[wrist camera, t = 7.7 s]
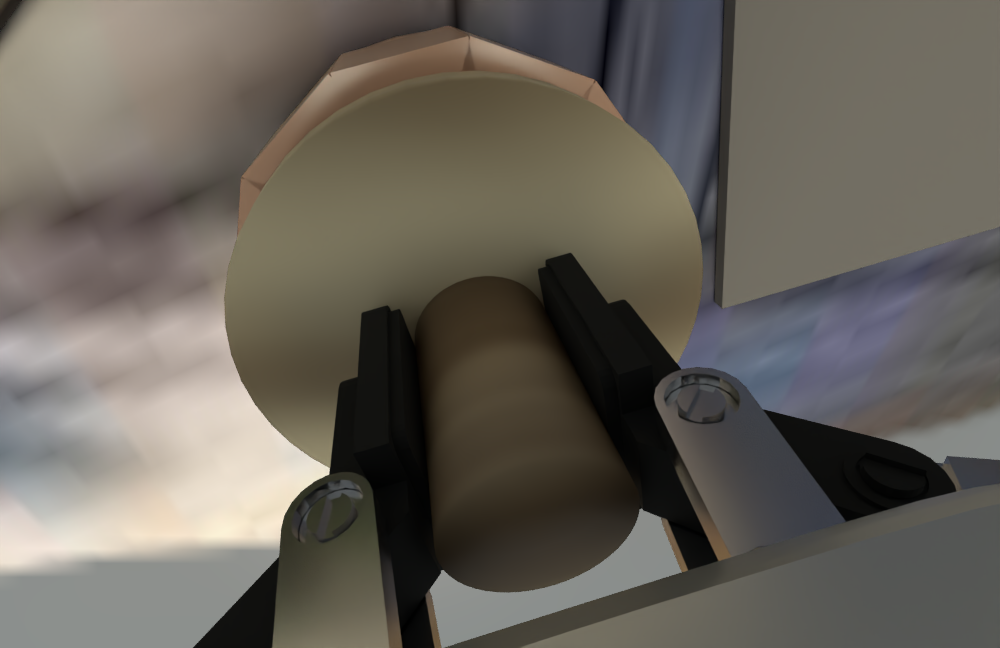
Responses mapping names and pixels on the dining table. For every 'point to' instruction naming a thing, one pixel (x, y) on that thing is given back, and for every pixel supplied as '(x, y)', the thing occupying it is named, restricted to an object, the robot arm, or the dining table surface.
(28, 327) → the dining table surface
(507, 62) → the bowl
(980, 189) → the mat
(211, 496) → the dining table surface
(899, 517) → the robot arm
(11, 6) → the salad plate
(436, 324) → the lid
